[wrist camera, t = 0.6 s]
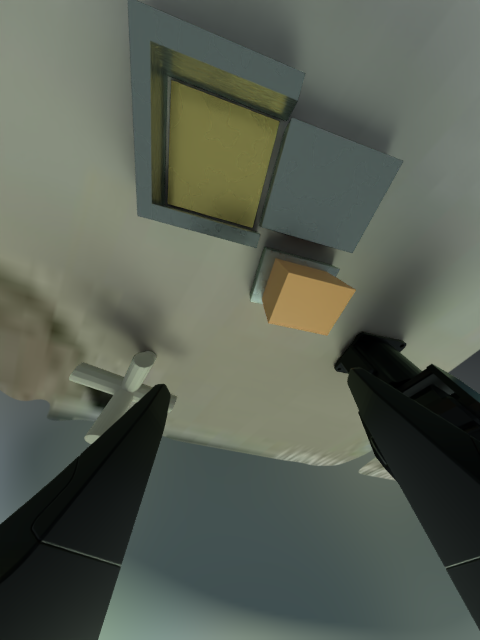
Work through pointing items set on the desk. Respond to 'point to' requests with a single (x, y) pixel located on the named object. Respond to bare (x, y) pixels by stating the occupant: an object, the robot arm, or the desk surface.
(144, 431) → the robot arm
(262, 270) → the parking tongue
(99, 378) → the pipe connector
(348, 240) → the sliding lid box
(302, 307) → the block
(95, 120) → the desk surface
